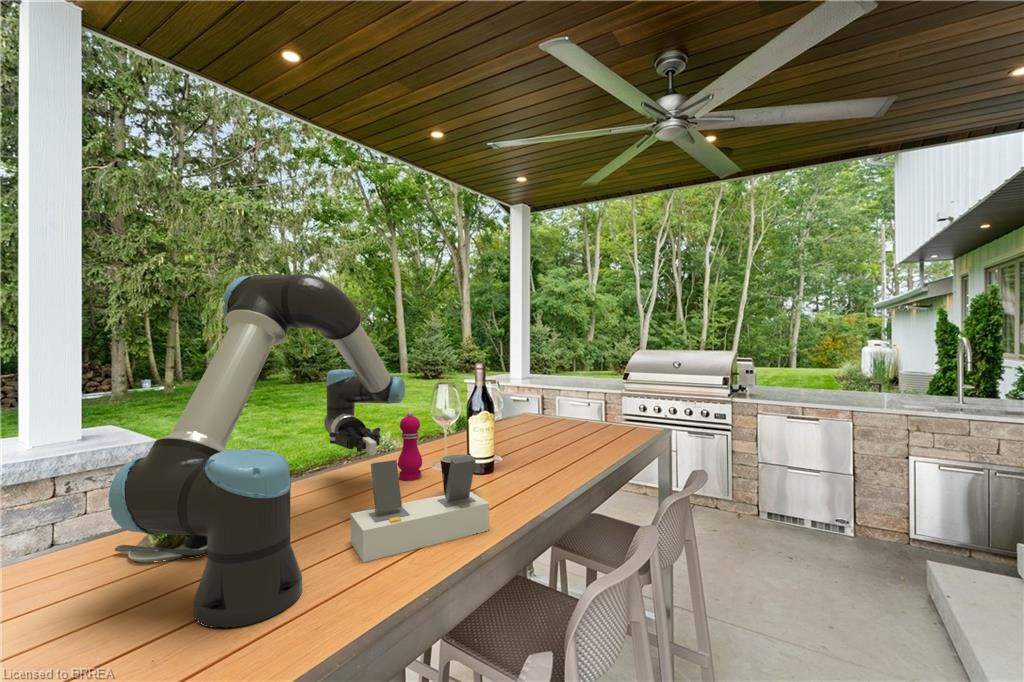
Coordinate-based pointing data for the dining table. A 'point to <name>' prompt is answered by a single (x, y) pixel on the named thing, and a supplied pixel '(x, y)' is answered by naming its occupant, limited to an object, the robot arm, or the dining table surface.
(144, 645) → the dining table surface
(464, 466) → the far switch
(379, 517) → the switch box
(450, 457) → the coffee mug
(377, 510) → the near switch
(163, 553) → the salad plate
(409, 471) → the pepper mill
